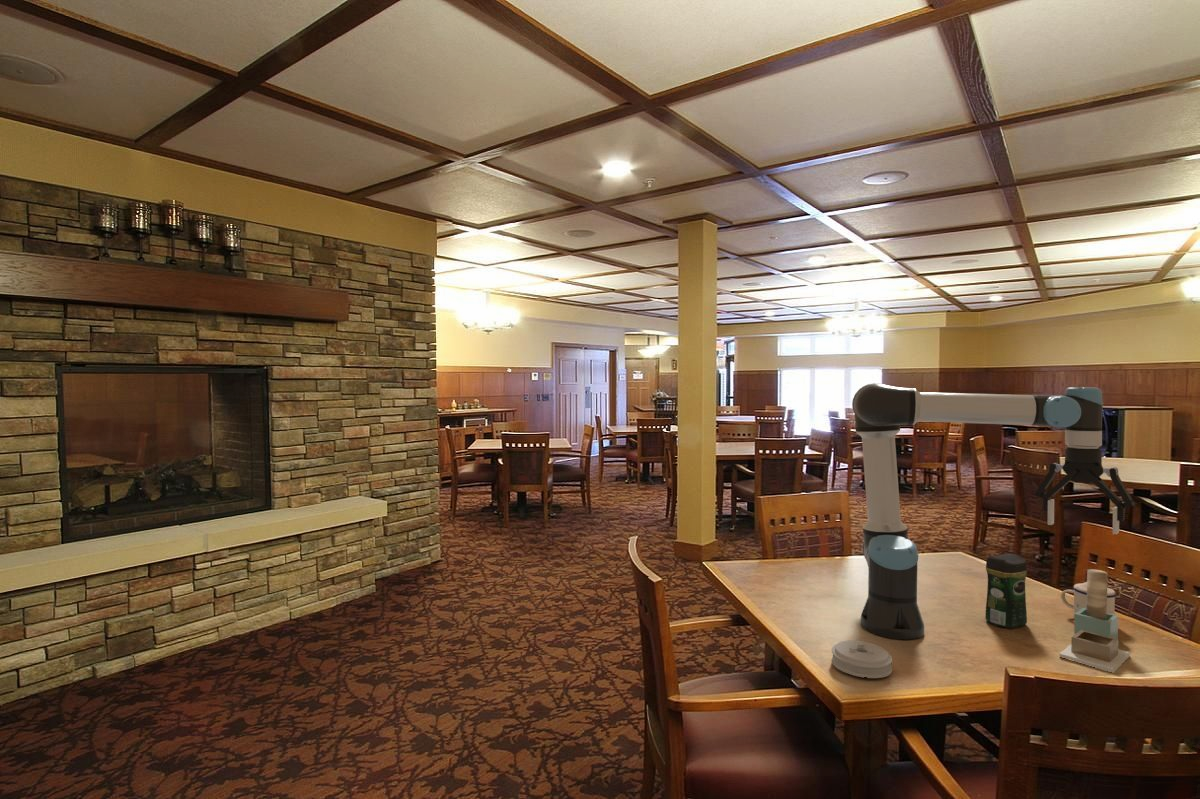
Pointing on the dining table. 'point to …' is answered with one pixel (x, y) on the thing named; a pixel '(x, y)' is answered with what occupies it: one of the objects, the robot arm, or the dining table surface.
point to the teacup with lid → (1081, 598)
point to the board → (1095, 662)
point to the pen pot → (1096, 624)
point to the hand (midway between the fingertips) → (1082, 528)
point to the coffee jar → (1006, 590)
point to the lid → (861, 659)
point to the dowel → (1097, 594)
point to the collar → (1094, 645)
